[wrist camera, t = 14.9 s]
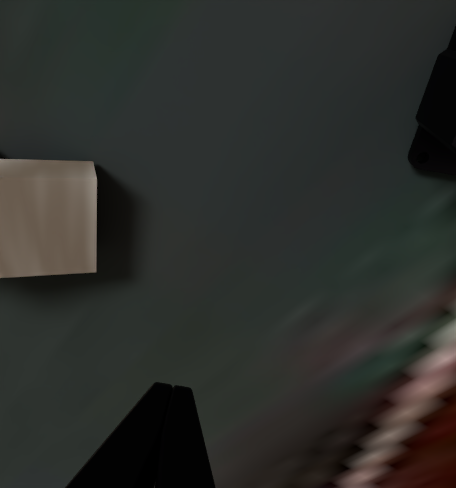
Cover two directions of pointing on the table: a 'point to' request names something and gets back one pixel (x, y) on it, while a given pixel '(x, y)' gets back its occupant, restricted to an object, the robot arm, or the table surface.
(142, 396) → the robot arm
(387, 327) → the table surface
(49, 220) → the domino
